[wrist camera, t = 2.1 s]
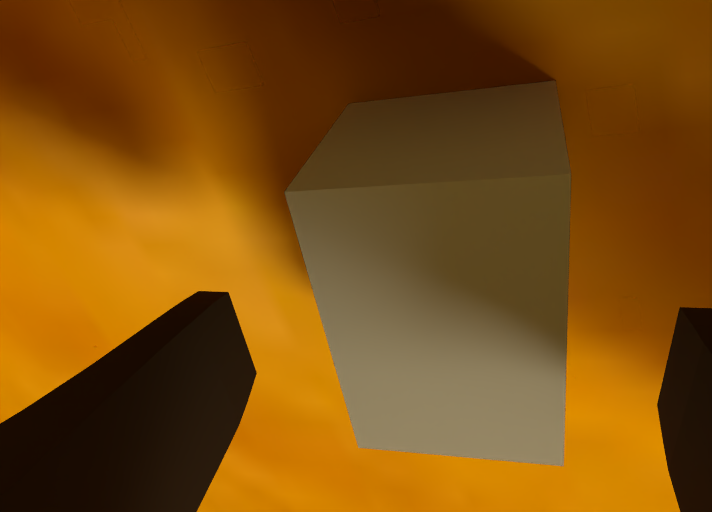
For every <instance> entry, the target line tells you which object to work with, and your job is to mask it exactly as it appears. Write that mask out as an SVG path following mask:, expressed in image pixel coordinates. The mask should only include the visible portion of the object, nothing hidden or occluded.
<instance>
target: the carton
mask: <svg viewBox="0 0 712 512" xmlns="http://www.w3.org/2000/svg"><path fill="white" fill-rule="evenodd" d="M284 193H285V196H286V200H287V203H288V207H289V210H290V214H291V217H292V220H293V224H294V227H295V231H296V234H297V238H298V241H299V245H300V248H301V251H302V255H303V258H304V262H305V265H306V269H307V272H308V275H309V279H310V282H311V286H312V289H313V293H314V296H315V300H316V303H317V306H318V310H319V313H320V317H321V320H322V324H323V327H324V330H325V334H326V337H327V341H328V344H329V348H330V351H331V355H332V358H333V361H334V365H335V368H336V372H337V375H338V379H339V382H340V385H341V389H342V392H343V396H344V399H345V403H346V406H347V410H348V413H349V416H350V420H351V423H352V427H353V430H354V434H355V437H356V440H357V444H358V447H359V448H369V449H380V450H391V451H402V452H413V453H424V454H435V455H446V456H457V457H469V458H480V459H491V460H502V461H513V462H524V463H535V464H546V465H557V466H564V432H565V393H566V355H567V316H568V277H569V239H570V200H571V170H570V164H569V158H568V152H567V146H566V140H565V134H564V128H563V122H562V116H561V110H560V104H559V98H558V92H557V86H556V80H554V81H545V82H536V83H527V84H519V85H510V86H501V87H492V88H483V89H474V90H465V91H456V92H447V93H438V94H429V95H420V96H411V97H402V98H393V99H384V100H376V101H367V102H358V103H349V104H348V105H347V107H346V108H345V109H344V111H343V112H342V114H341V115H340V116H339V118H338V119H337V120H336V122H335V123H334V124H333V126H332V127H331V129H330V130H329V131H328V133H327V134H326V135H325V137H324V138H323V140H322V141H321V142H320V144H319V145H318V146H317V148H316V149H315V150H314V152H313V153H312V155H311V156H310V157H309V159H308V160H307V161H306V163H305V164H304V166H303V167H302V168H301V170H300V171H299V172H298V174H297V175H296V177H295V178H294V179H293V181H292V182H291V183H290V185H289V186H288V187H287V189H286V190H285V192H284Z"/></svg>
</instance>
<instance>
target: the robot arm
mask: <svg viewBox="0 0 712 512" xmlns="http://www.w3.org/2000/svg"><path fill="white" fill-rule="evenodd" d="M256 374H257V373H256V370H255V367H254V364H253V361H252V359H251V356H250V353H249V350H248V347H247V344H246V341H245V338H244V336H243V333H242V330H241V327H240V324H239V321H238V318H237V316H236V313H235V310H234V307H233V304H232V301H231V298H230V296H229V293H228V292H208V291H198V292H196V293H195V294H193V295H192V296H190V297H188V298H187V299H185V300H183V301H182V302H180V303H179V304H177V305H176V306H174V307H173V308H171V309H170V310H169V311H167V312H166V313H164V314H163V315H161V316H160V317H158V318H157V319H156V320H154V321H153V322H151V323H150V324H149V325H147V326H146V327H144V328H143V329H142V330H140V331H139V332H137V333H136V334H134V335H133V336H132V337H130V338H129V339H127V340H126V341H125V342H123V343H122V344H120V345H119V346H117V347H116V348H115V349H113V350H112V351H110V352H109V353H108V354H106V355H105V356H103V357H102V358H100V359H99V360H98V361H96V362H95V363H93V364H92V365H90V366H89V367H87V368H86V369H84V370H83V371H81V372H80V373H78V374H77V375H75V376H74V377H72V378H71V379H69V380H68V381H66V382H65V383H63V384H62V385H60V386H59V387H57V388H56V389H54V390H53V391H51V392H50V393H48V394H47V395H45V396H44V397H42V398H40V399H39V400H37V401H36V402H34V403H33V404H31V405H30V406H28V407H27V408H25V409H24V410H22V411H20V412H19V413H17V414H15V415H14V416H12V417H11V418H9V419H7V420H6V421H4V422H2V423H1V424H0V512H197V510H198V508H199V506H200V504H201V502H202V500H203V498H204V496H205V494H206V492H207V490H208V488H209V486H210V484H211V482H212V480H213V478H214V476H215V474H216V472H217V470H218V468H219V466H220V463H221V461H222V459H223V457H224V455H225V453H226V451H227V449H228V447H229V445H230V443H231V441H232V439H233V437H234V435H235V432H236V430H237V428H238V426H239V424H240V421H241V418H242V416H243V413H244V410H245V407H246V404H247V402H248V399H249V395H250V392H251V389H252V386H253V383H254V380H255V377H256ZM657 406H658V413H659V419H660V425H661V431H662V438H663V444H664V449H665V455H666V460H667V466H668V471H669V474H670V478H671V481H672V485H673V488H674V492H675V495H676V498H677V502H678V505H679V508H680V512H712V308H683V307H680V308H679V313H678V317H677V321H676V326H675V330H674V334H673V339H672V343H671V347H670V352H669V356H668V360H667V365H666V369H665V373H664V378H663V382H662V386H661V391H660V395H659V399H658V404H657Z"/></svg>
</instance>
